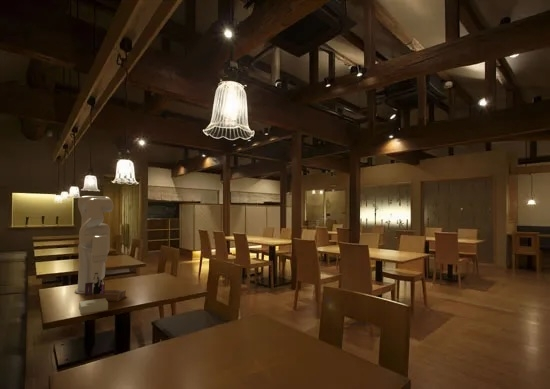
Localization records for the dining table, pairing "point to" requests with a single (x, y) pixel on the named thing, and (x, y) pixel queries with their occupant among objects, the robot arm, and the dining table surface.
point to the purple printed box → (89, 288)
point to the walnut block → (112, 295)
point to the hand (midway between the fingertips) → (97, 292)
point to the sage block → (93, 305)
